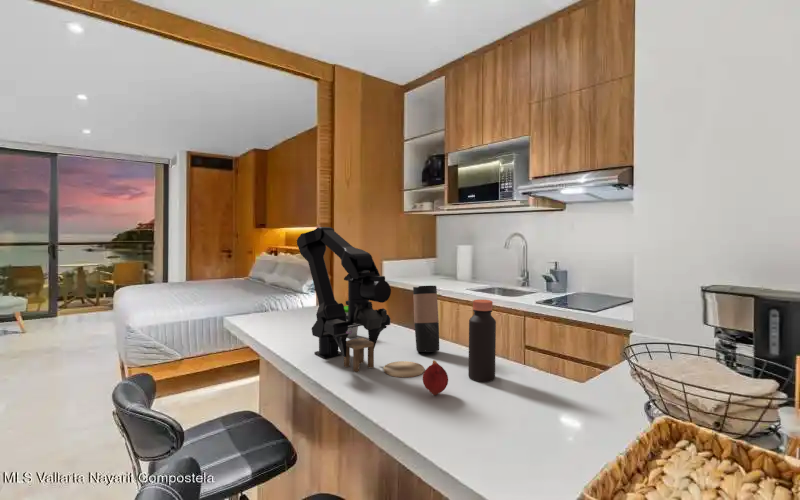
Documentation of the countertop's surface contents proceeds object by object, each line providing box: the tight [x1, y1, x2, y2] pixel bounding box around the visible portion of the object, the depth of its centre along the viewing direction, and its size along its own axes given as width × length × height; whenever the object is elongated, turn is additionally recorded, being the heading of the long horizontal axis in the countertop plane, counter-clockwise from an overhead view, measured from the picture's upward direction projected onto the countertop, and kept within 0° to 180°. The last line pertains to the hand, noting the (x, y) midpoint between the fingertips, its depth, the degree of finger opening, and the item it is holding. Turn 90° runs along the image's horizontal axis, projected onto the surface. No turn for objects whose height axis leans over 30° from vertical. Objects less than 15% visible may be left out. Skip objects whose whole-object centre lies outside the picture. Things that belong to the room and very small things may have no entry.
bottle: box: [467, 299, 497, 383], centre depth 101 cm, size 7×7×20 cm
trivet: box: [383, 360, 425, 378], centre depth 107 cm, size 11×11×1 cm
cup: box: [344, 305, 359, 339], centre depth 141 cm, size 8×8×15 cm
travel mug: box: [412, 285, 440, 353], centre depth 124 cm, size 8×8×20 cm
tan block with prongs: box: [343, 337, 375, 373], centre depth 109 cm, size 6×6×7 cm
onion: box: [422, 359, 449, 396], centre depth 90 cm, size 6×6×8 cm
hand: (358, 353), depth 109 cm, fingers open, 9 cm apart
